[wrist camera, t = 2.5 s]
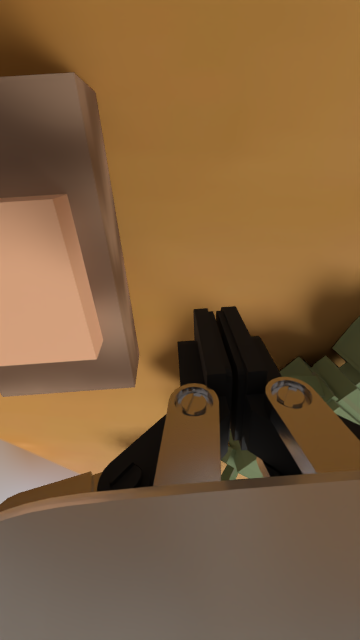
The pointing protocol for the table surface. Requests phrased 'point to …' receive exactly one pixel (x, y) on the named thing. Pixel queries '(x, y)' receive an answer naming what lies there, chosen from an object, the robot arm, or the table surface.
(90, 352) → the tan flat block
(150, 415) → the table surface
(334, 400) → the toy
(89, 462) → the table surface
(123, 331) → the plate
